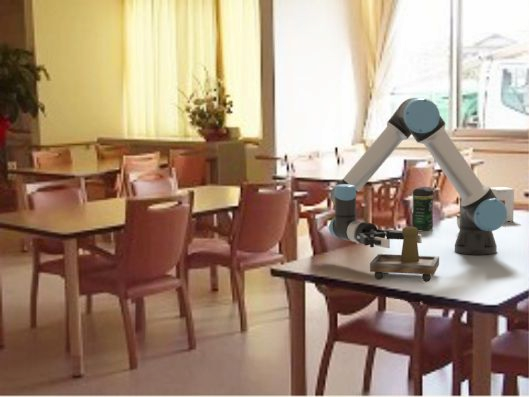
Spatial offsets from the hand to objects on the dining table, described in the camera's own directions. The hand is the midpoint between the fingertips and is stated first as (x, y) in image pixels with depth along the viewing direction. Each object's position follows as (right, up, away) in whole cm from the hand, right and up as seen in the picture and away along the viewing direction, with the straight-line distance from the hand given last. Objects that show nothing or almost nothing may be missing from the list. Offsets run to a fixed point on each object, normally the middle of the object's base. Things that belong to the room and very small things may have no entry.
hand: (405, 241), depth 263 cm
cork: (+2, -6, +4) cm, 8 cm away
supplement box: (+63, +4, +111) cm, 128 cm away
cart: (0, -12, +2) cm, 12 cm away
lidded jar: (+41, -1, +81) cm, 91 cm away
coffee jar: (+23, 0, +92) cm, 95 cm away
